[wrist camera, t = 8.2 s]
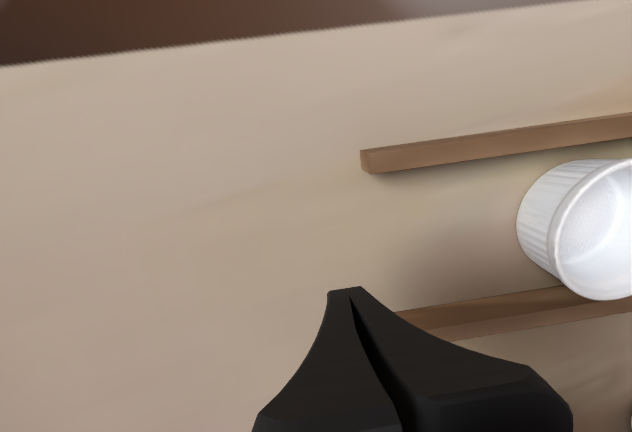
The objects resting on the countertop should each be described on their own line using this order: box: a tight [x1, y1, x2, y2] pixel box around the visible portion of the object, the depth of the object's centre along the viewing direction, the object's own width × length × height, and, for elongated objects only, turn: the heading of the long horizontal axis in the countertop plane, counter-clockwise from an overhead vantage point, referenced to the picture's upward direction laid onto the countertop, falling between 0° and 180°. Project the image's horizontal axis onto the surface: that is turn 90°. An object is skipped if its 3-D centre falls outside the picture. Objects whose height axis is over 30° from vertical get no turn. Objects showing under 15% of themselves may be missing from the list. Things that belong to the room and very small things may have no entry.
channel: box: [360, 112, 632, 342], centre depth 21 cm, size 13×20×2 cm
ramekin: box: [516, 158, 632, 301], centre depth 20 cm, size 9×9×4 cm
